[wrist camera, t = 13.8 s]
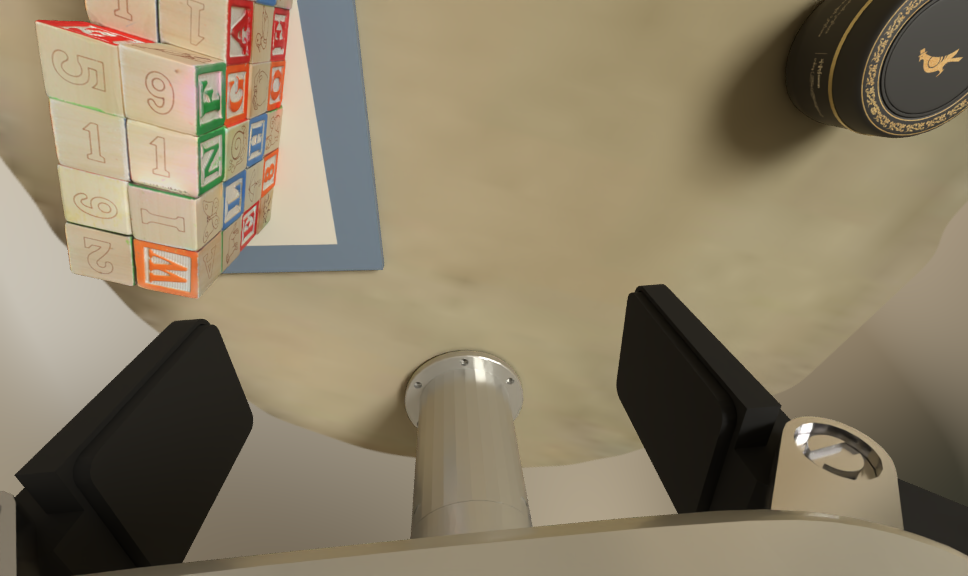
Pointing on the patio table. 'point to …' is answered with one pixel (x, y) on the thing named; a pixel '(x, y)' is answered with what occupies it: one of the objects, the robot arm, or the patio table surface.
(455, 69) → the patio table surface
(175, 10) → the stack of blocks
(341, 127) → the board
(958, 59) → the jar
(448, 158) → the patio table surface
